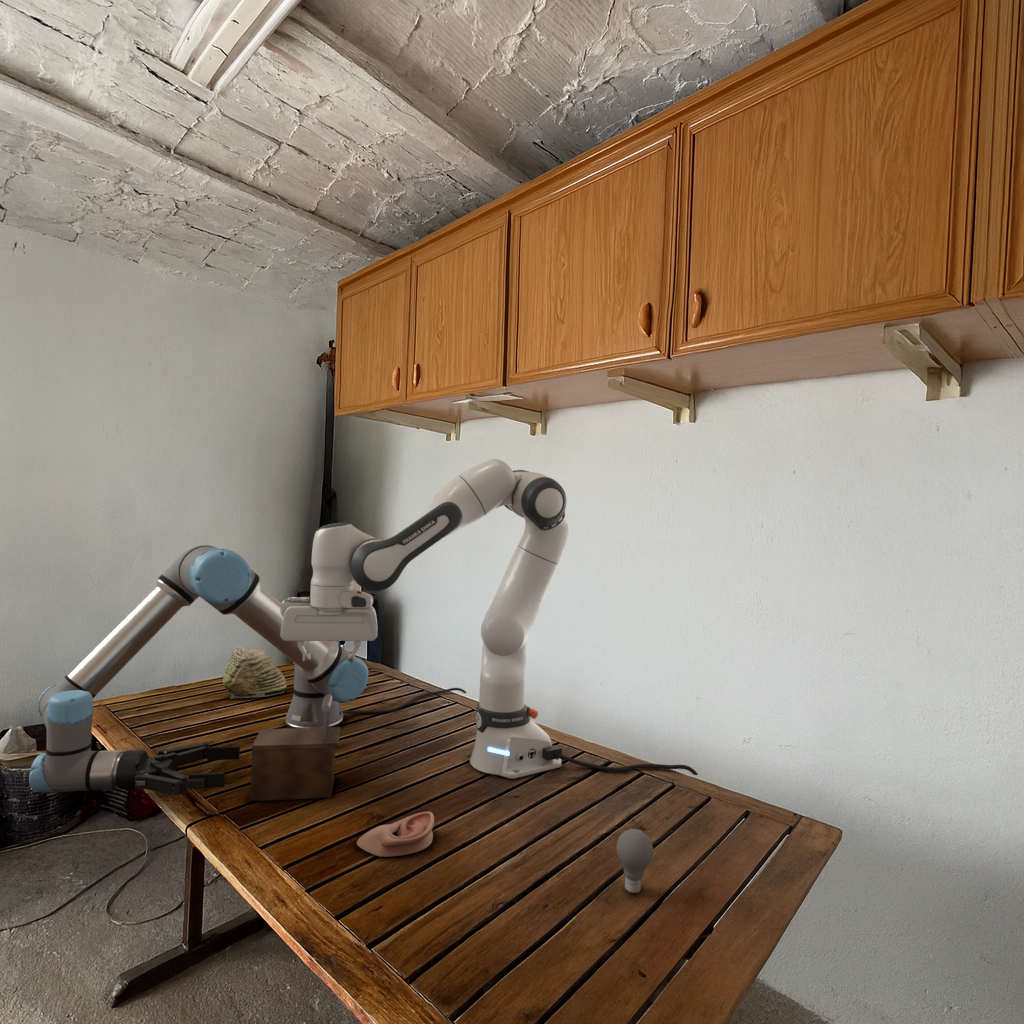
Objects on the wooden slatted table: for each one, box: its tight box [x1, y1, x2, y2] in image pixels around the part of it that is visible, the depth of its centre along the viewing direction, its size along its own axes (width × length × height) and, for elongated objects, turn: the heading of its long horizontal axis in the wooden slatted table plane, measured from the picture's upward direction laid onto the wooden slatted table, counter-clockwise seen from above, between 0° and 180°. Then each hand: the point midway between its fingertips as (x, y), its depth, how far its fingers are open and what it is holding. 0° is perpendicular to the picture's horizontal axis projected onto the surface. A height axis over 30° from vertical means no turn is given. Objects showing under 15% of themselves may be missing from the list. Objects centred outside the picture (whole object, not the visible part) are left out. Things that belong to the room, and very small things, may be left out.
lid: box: [251, 694, 342, 752], centre depth 136 cm, size 17×9×9 cm, turn 102°
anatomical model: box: [356, 811, 435, 858], centre depth 118 cm, size 13×4×12 cm
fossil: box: [222, 646, 288, 699], centre depth 198 cm, size 9×18×15 cm, turn 132°
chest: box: [249, 748, 336, 802], centre depth 137 cm, size 16×9×10 cm, turn 102°
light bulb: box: [615, 828, 654, 894], centre depth 106 cm, size 6×6×10 cm
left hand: (232, 765), depth 134 cm, fingers open, 13 cm apart
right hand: (329, 660), depth 137 cm, fingers open, 8 cm apart
